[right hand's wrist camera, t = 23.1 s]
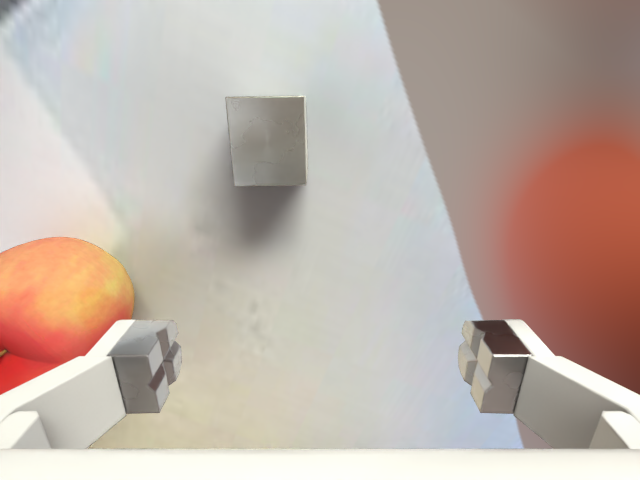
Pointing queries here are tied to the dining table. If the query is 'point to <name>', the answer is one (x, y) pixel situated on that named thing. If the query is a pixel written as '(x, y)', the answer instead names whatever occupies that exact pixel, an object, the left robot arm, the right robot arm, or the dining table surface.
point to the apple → (56, 304)
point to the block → (268, 140)
